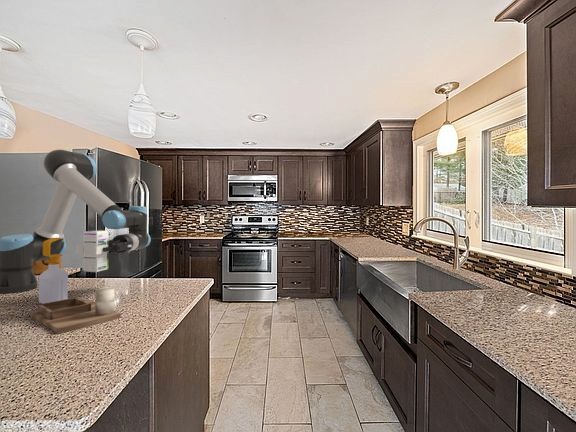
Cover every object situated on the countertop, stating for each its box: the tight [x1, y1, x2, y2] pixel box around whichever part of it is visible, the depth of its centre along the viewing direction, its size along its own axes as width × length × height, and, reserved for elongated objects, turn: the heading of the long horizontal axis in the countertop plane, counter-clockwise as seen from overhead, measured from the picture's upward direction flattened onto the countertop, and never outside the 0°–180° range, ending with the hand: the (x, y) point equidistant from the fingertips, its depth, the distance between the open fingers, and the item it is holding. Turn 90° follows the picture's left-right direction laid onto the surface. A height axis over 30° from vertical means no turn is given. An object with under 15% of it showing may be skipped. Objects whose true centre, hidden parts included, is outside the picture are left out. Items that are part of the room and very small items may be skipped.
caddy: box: [28, 286, 122, 335], centre depth 108 cm, size 25×18×10 cm
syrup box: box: [82, 229, 110, 273], centre depth 117 cm, size 6×6×14 cm
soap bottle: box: [38, 237, 69, 304], centre depth 124 cm, size 9×9×25 cm
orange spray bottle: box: [32, 232, 62, 275], centre depth 171 cm, size 10×12×22 cm
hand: (86, 250), depth 112 cm, fingers closed on syrup box, 6 cm apart
